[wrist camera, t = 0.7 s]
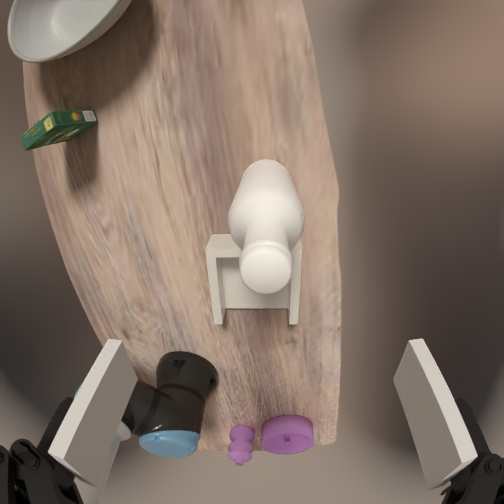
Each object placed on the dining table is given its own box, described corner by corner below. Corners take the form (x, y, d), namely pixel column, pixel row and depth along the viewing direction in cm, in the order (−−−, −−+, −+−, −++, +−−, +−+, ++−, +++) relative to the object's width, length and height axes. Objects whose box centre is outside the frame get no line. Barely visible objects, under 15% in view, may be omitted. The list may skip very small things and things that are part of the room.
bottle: (288, 207, 49) (314, 322, 22) (241, 204, 49) (210, 317, 22) (291, 159, 45) (330, 221, 18) (242, 157, 46) (206, 215, 18)
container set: (313, 412, 73) (317, 450, 61) (311, 436, 80) (313, 470, 68) (226, 415, 75) (221, 453, 64) (234, 439, 82) (230, 472, 70)
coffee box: (95, 107, 42) (50, 109, 30) (99, 121, 43) (55, 126, 31) (64, 128, 43) (18, 136, 32) (68, 141, 44) (23, 152, 33)
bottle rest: (295, 305, 57) (297, 324, 52) (218, 305, 58) (214, 324, 52) (298, 233, 51) (302, 248, 45) (211, 234, 51) (205, 248, 46)
